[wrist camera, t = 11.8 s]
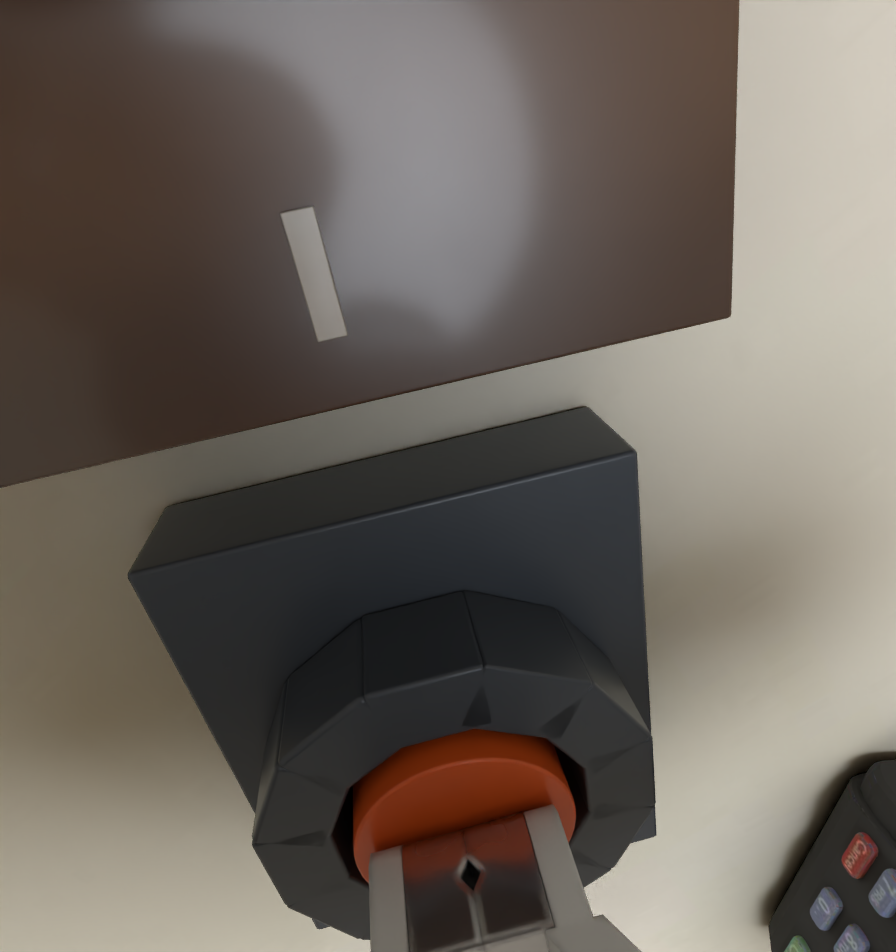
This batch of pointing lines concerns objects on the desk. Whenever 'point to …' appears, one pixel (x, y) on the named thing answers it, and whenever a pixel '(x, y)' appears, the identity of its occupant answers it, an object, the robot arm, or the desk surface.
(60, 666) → the desk surface
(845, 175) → the desk surface
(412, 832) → the button
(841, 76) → the desk surface
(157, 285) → the panel
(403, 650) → the button block
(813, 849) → the card reader
